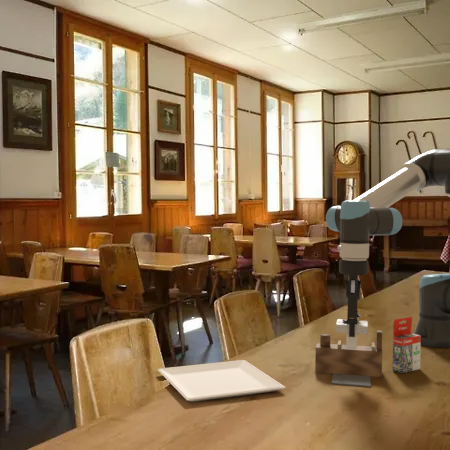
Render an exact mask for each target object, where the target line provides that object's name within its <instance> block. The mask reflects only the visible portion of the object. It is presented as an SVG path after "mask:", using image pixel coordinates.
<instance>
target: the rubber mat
mask: <svg viewBox="0 0 450 450" xmlns="http://www.w3.org/2000/svg"><path fill="white" fill-rule="evenodd" d="M371 377H372V376H360V375H346V374H333V373H332V377H331V385H337V386H338V385H340V386H350V387H352V386H354V387H365V388H366V387H367V388H372V381H371Z"/></svg>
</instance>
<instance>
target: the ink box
mask: <svg viewBox="0 0 450 450" xmlns="http://www.w3.org/2000/svg"><path fill="white" fill-rule="evenodd" d="M403 321H404V322H403ZM400 322H403V323H400ZM412 323H413V317H412V316H409V317H403V318H397V319H394V320H393V331H392V332H393V335H392V366H391V367H392V371H393V372H396V373H398V374H399V373H400V374H405V373H408V372H409V373H410V372H413V371H419V370H421V348H422V347H421V346H422V345H421V336H420V335H416V334H413V333H412V327H413V326H412Z"/></svg>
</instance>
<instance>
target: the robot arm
mask: <svg viewBox="0 0 450 450" xmlns="http://www.w3.org/2000/svg"><path fill="white" fill-rule="evenodd" d="M435 186H436V187H439V186H440V187H444V194H445V195H446V196H447V197H449V198H450V147H446V148H434V149H431V150H428V151H426V152H424V153H421V154H419V155H417V156H415V157H413V158H412V159H410V160H408V161H407V162H405V163H403V164H402V165H401V167H400V168H399V171H397V172H396V173H394V174H392V175H391V176H389V177H388V178H386V179H384V180H383V181H381V182H379V183H377V184H376V185H375V186H373V187H372V188H370V189H368V190H367V191H365V192H363V193H362V194H361V195H359V196H357V197H356V198H354V199H352V200H349V199H347V200H344V201H342V202H341V203H340V204H341V205H334V206H331V207H330V208H328V210H327V212H326V214H325V222H326V225H327V227H328V228H329V230H331V231H334V232H338V233H339V245H337V248H336V249H337V250H339V257H340V259H339V265H338V266H339V267H338V272H339V273H340V274H342V275H345V276H346V275H347V276H348V279H346V280H345V288H346V290H345V291H346V292H345V296H346V299H347V315H346V316H347V317H346V319H347V321H344V324H347V333H346V334H345V335H346V337H345V338H346V343H345V345H346V349H357V346H358V334H357V323H358V321H359V319H358V318H361V313H358V312H359V311H358V305H359V304H358V300H359V299H360V298H361V296H360V294H361V293H360V291H361V289H362V280H359V276H366V275H368V274H369V261H368V259H369V256H370V236H372V237H373V236H391V235H392V236H393V235H395V234H397V233H398V232H399V231H400V230H401V229H402V227H403V216H402V214H401V212H400V210H398V209H396V208H394V207H391V206H392V205H394V204H395V203H397V202H398V201H400V200H402V199H404V198H405V197H406V196H408V195H409V194H411V193H412V192H420V191H421V190H423V189H424V188H425V189H426V188H427V187H435ZM418 290H419V295H418V297H419V298H418V300H419V301H418V302H419V303H418V304H419V305H418V308H419V309H418V320H417V323H416V325H415V329H414V331H413V333H412V334H416V335H420V336H421V346H425V347H428V348H429V347H430V348H440V349H441V348H443V349H449V348H450V273H430V274H424V275H422V276H421V277H420V280H419V288H418Z"/></svg>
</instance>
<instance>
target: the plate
mask: <svg viewBox="0 0 450 450" xmlns="http://www.w3.org/2000/svg"><path fill="white" fill-rule="evenodd" d="M157 371H158V372H159V373H160V374H161V376H162V377H163V378H165V379H166V381H168V383H170V385H171V386H172V387H173V388H174V389H175V390H177V393H179V394H180V396H182V397H183V398H184V399H185V400H186V401H187V402H201V401H209V400H216V399H225V398H232V397H240V396H241V397H242V396H248V395H257V394H262V393H263V394H264V393H272V392H277V391H279V390H284V389H286V386H284V385H283V384H281V382H279V381H277V380H275V379H274V378H273V377H271V376H269V375H268V374H267V373H265V372H263V371H262V370H260V369H259V368H258V367H256V366H254V365H253V364H252V363H249V362H248V361H247V360H245V359H237V360H230V361H220V362H209V363H200V364H192V365H191V364H190V365H189V364H188V365H183V366H182V365H181V366H173V367H171V366H169V367H163V368H161V367H160V368H157Z"/></svg>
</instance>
